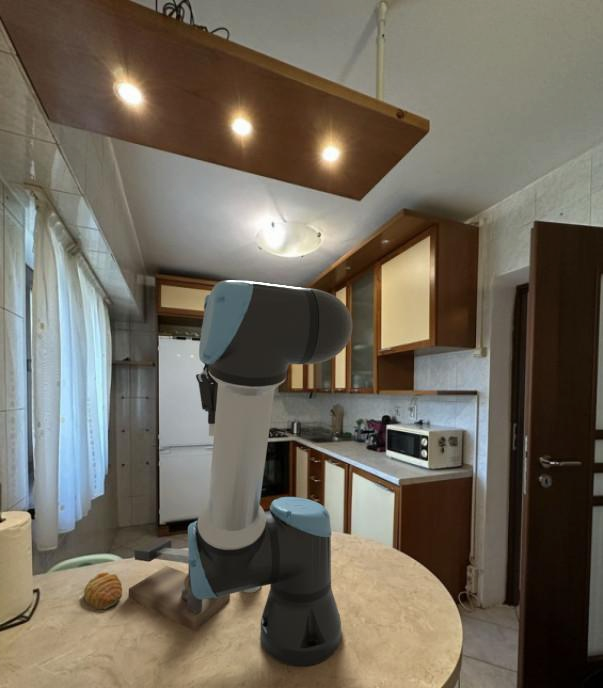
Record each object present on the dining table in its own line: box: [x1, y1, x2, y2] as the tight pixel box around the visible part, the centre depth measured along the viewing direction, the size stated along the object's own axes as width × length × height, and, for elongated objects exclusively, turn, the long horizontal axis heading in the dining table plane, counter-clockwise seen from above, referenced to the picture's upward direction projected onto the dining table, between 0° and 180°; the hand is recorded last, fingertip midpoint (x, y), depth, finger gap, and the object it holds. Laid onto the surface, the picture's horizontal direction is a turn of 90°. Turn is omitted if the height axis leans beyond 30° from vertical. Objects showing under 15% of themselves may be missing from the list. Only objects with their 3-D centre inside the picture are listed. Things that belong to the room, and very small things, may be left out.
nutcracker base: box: [127, 563, 231, 631], centre depth 72 cm, size 20×10×12 cm, turn 62°
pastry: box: [83, 571, 123, 610], centre depth 71 cm, size 9×7×4 cm
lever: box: [134, 538, 189, 564], centre depth 72 cm, size 21×6×3 cm, turn 63°
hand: (214, 435), depth 89 cm, fingers closed
